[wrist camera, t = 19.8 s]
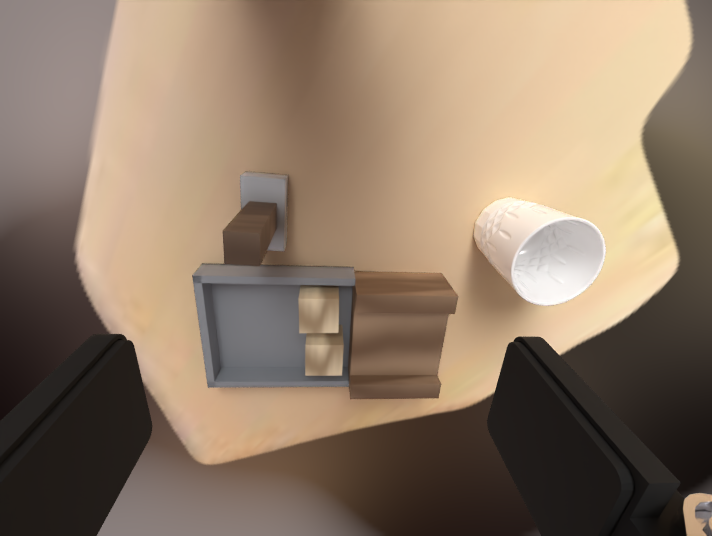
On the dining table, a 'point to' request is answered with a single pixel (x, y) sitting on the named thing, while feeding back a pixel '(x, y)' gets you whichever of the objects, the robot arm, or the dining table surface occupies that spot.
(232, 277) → the tray
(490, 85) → the dining table surface
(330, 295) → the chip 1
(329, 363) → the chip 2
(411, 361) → the slot block
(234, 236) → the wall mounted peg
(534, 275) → the white cup
